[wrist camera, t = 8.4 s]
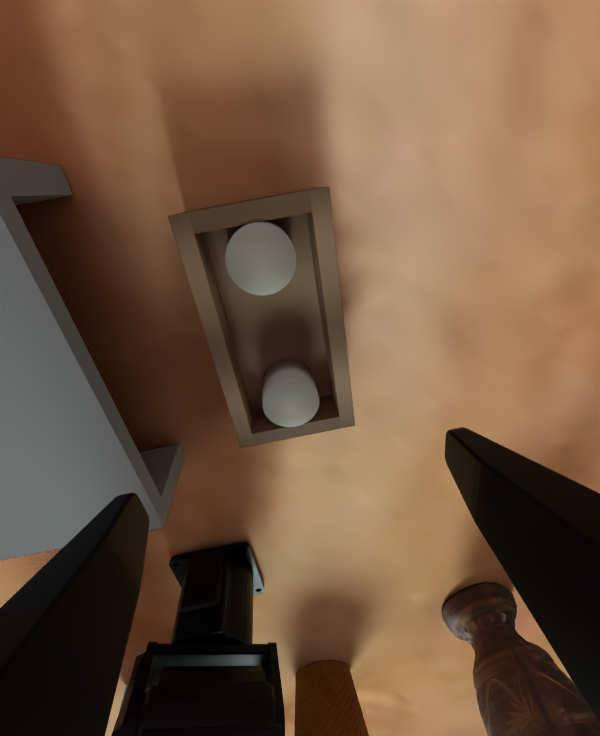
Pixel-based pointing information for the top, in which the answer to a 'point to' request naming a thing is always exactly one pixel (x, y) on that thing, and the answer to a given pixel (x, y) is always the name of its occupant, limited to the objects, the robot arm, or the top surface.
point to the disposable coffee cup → (327, 702)
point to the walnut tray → (271, 311)
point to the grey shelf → (57, 399)
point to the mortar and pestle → (514, 670)
